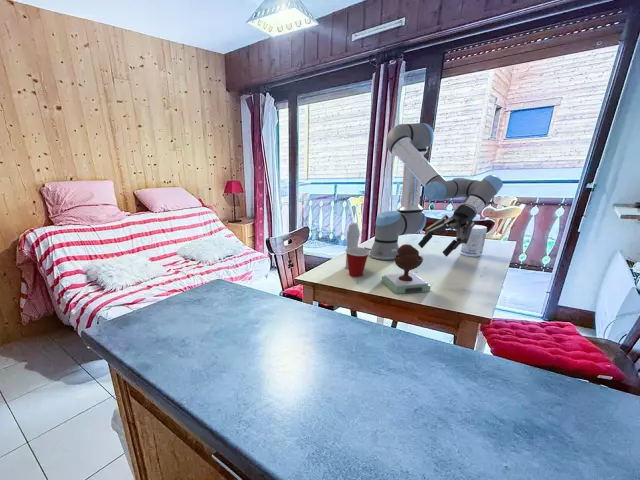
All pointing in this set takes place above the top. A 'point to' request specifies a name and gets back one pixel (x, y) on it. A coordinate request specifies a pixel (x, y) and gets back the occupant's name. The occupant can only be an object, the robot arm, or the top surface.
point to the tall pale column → (352, 237)
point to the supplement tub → (475, 242)
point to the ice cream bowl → (407, 260)
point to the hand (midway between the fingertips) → (431, 250)
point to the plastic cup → (356, 260)
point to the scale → (405, 284)
